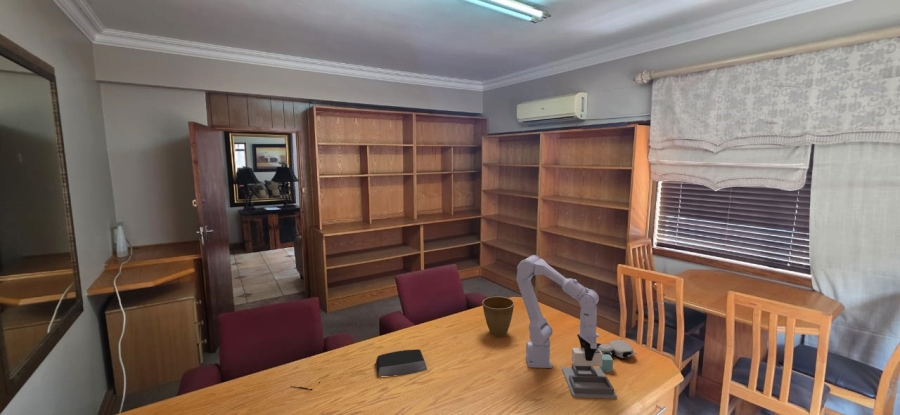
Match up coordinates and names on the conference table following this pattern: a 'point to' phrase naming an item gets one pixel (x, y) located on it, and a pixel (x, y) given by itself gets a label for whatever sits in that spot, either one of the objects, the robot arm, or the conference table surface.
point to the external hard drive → (400, 363)
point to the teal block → (607, 363)
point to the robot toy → (617, 348)
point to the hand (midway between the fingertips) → (587, 357)
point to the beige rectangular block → (580, 359)
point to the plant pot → (498, 314)
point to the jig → (588, 382)
